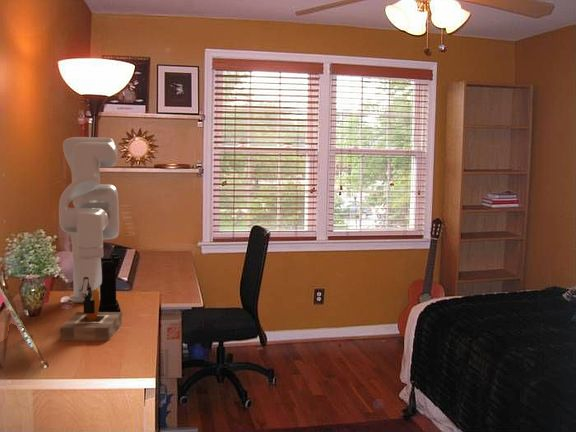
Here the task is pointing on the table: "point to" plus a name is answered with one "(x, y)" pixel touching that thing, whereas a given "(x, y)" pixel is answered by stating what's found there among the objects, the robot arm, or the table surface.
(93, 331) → the seat block
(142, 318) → the table surface
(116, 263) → the chess piece
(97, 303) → the carrot
